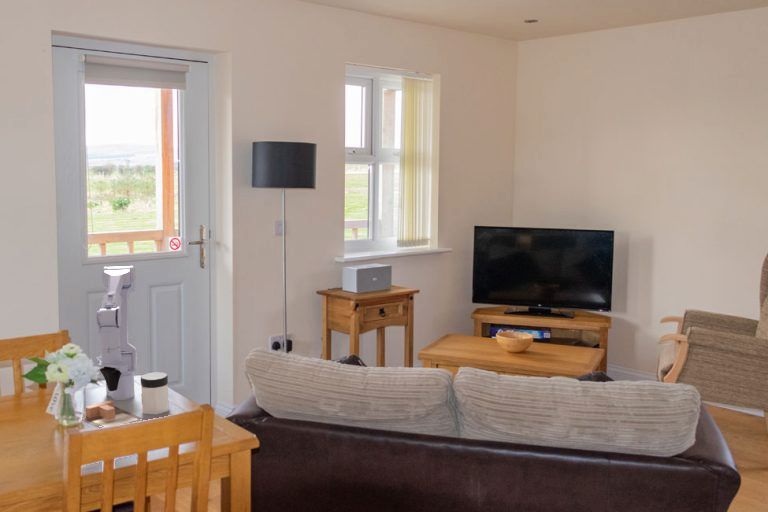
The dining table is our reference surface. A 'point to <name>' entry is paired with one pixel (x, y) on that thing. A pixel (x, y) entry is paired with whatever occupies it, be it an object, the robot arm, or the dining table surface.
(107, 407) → the t block
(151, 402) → the jar
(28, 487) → the dining table surface
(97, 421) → the board
